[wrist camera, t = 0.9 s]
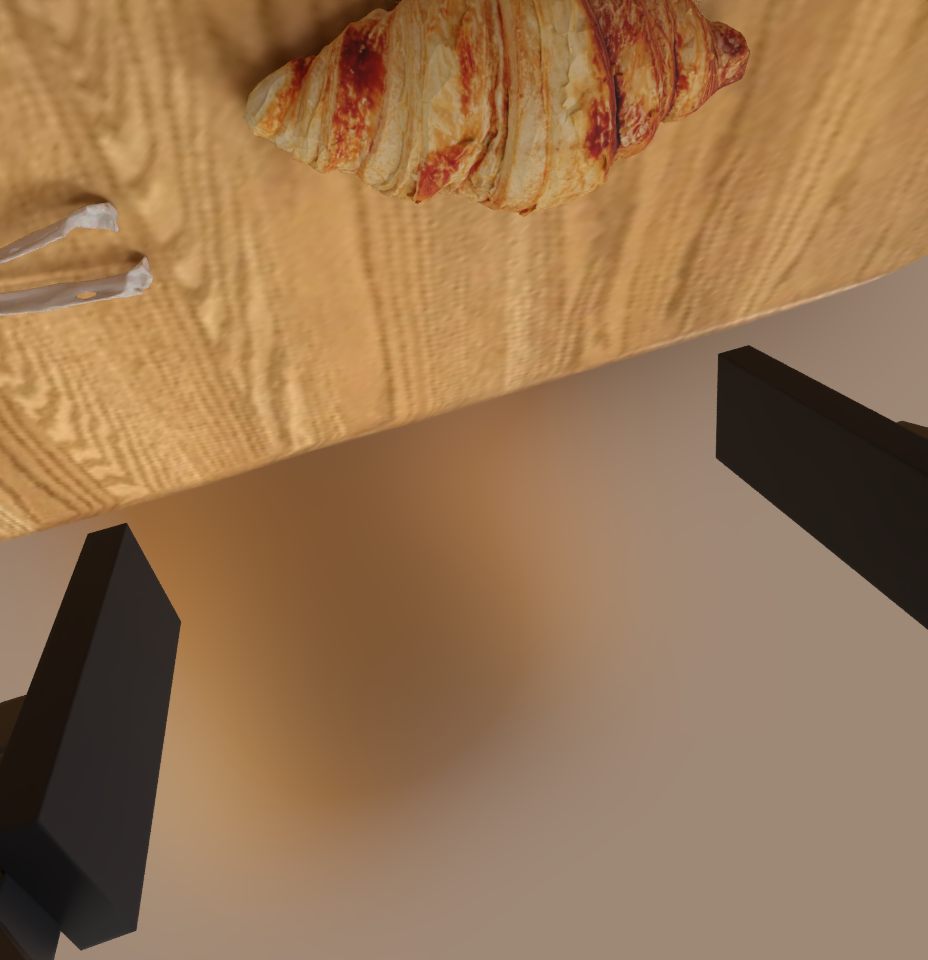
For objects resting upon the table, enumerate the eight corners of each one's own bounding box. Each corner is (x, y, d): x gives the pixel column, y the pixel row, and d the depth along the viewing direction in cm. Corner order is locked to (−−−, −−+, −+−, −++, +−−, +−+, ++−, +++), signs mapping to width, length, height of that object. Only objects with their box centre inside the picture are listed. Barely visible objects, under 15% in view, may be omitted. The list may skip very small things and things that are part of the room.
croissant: (247, 118, 31) (288, 286, 31) (191, -77, 21) (251, 169, 21) (672, 54, 34) (714, 205, 34) (797, -141, 24) (857, 71, 24)
